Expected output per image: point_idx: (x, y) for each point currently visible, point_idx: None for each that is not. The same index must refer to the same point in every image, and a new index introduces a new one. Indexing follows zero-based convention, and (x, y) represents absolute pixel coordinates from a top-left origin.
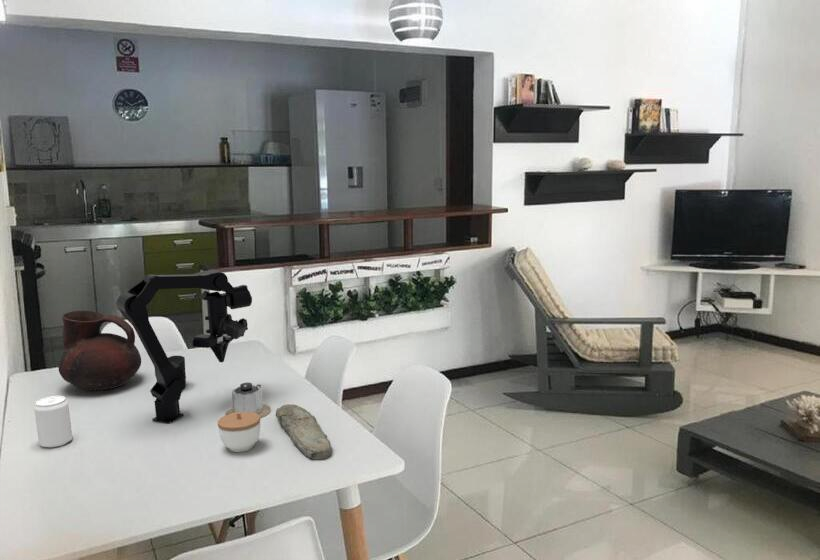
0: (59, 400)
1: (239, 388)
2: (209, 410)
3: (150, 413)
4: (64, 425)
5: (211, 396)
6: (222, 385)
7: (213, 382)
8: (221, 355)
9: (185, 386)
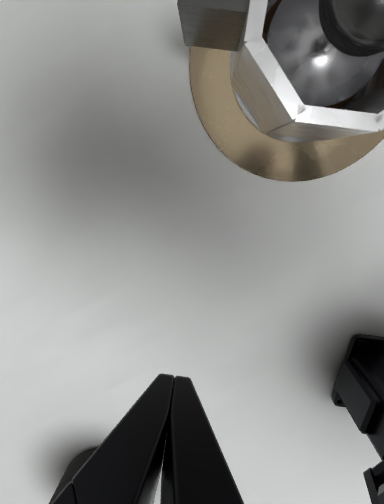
0: None
1: (303, 106)
2: (290, 266)
3: (333, 442)
4: None
5: (142, 331)
6: (22, 346)
7: (8, 390)
8: (222, 457)
9: (91, 453)
